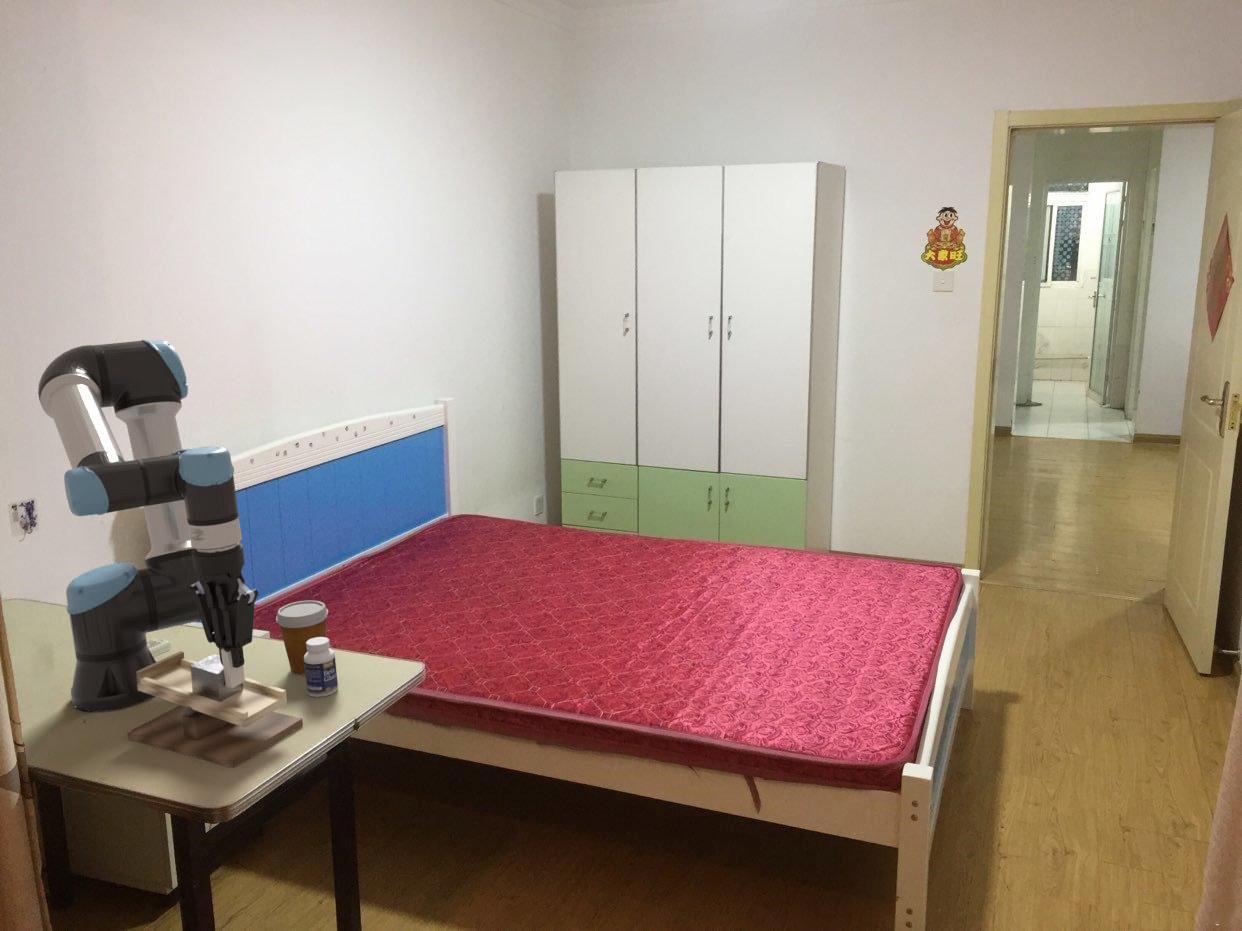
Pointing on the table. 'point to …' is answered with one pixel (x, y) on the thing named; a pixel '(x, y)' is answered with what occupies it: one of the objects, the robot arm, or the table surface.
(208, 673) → the block
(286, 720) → the stand
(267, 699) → the balance beam
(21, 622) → the table surface
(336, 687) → the pill bottle
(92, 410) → the robot arm
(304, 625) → the disposable coffee cup
